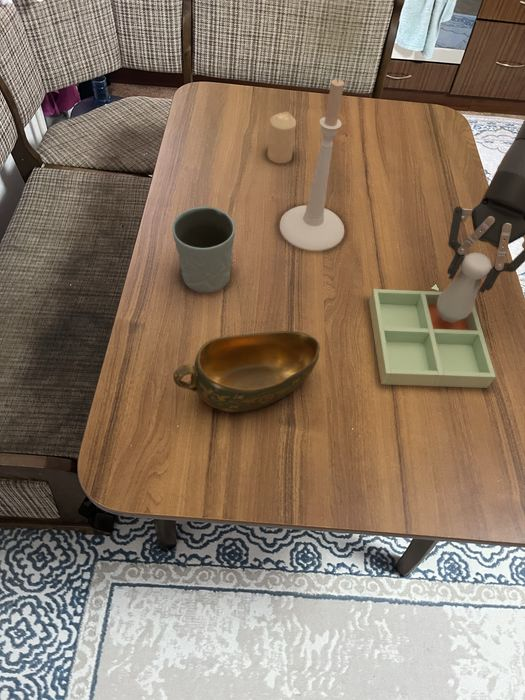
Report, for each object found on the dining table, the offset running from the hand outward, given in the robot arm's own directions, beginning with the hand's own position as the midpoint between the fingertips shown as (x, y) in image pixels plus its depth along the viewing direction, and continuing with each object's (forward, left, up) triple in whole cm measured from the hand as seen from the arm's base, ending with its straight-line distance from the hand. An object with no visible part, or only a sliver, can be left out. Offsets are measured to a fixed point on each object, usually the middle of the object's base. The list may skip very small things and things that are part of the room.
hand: (466, 284), depth 82 cm
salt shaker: (-1, -2, -9) cm, 9 cm away
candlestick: (+21, -24, -12) cm, 35 cm away
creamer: (+33, +13, -12) cm, 38 cm away
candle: (+27, -47, -12) cm, 56 cm away
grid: (+3, +3, -12) cm, 13 cm away
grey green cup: (+41, -10, -12) cm, 44 cm away
